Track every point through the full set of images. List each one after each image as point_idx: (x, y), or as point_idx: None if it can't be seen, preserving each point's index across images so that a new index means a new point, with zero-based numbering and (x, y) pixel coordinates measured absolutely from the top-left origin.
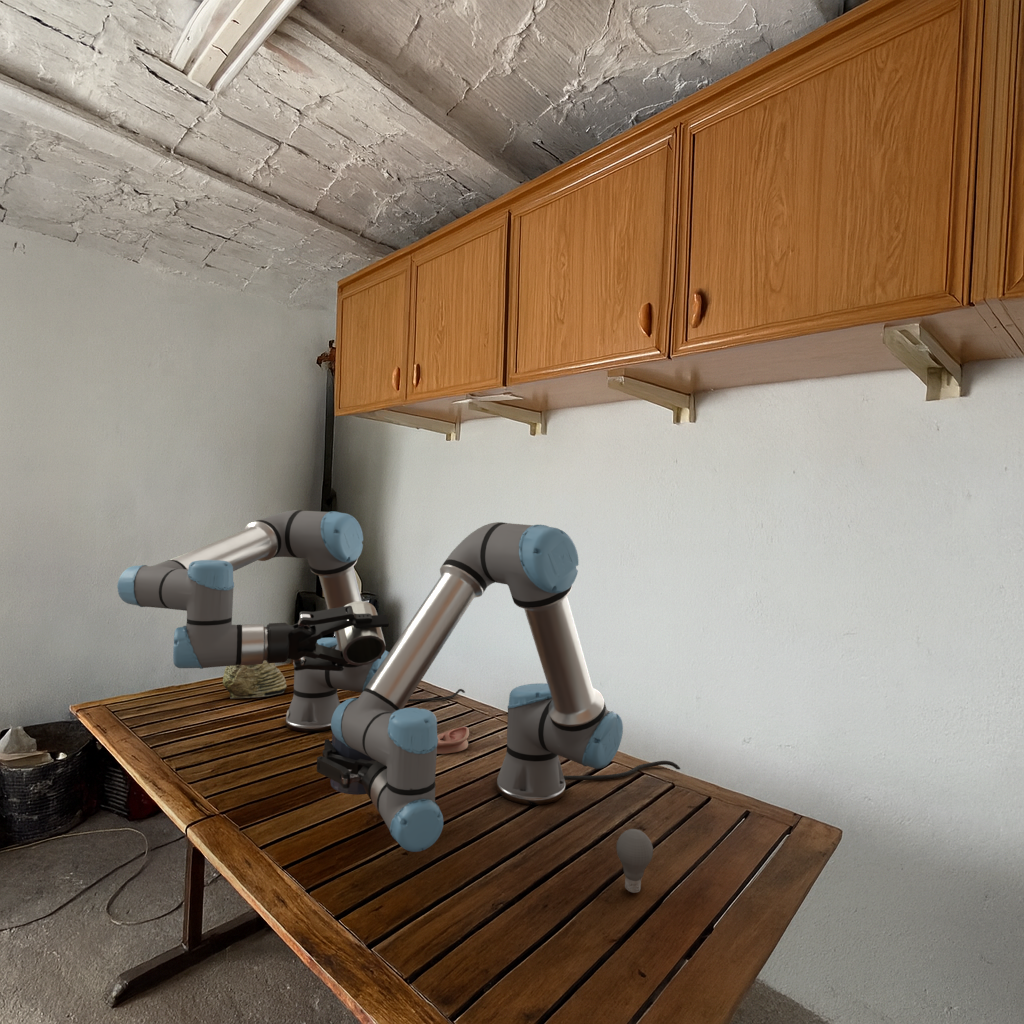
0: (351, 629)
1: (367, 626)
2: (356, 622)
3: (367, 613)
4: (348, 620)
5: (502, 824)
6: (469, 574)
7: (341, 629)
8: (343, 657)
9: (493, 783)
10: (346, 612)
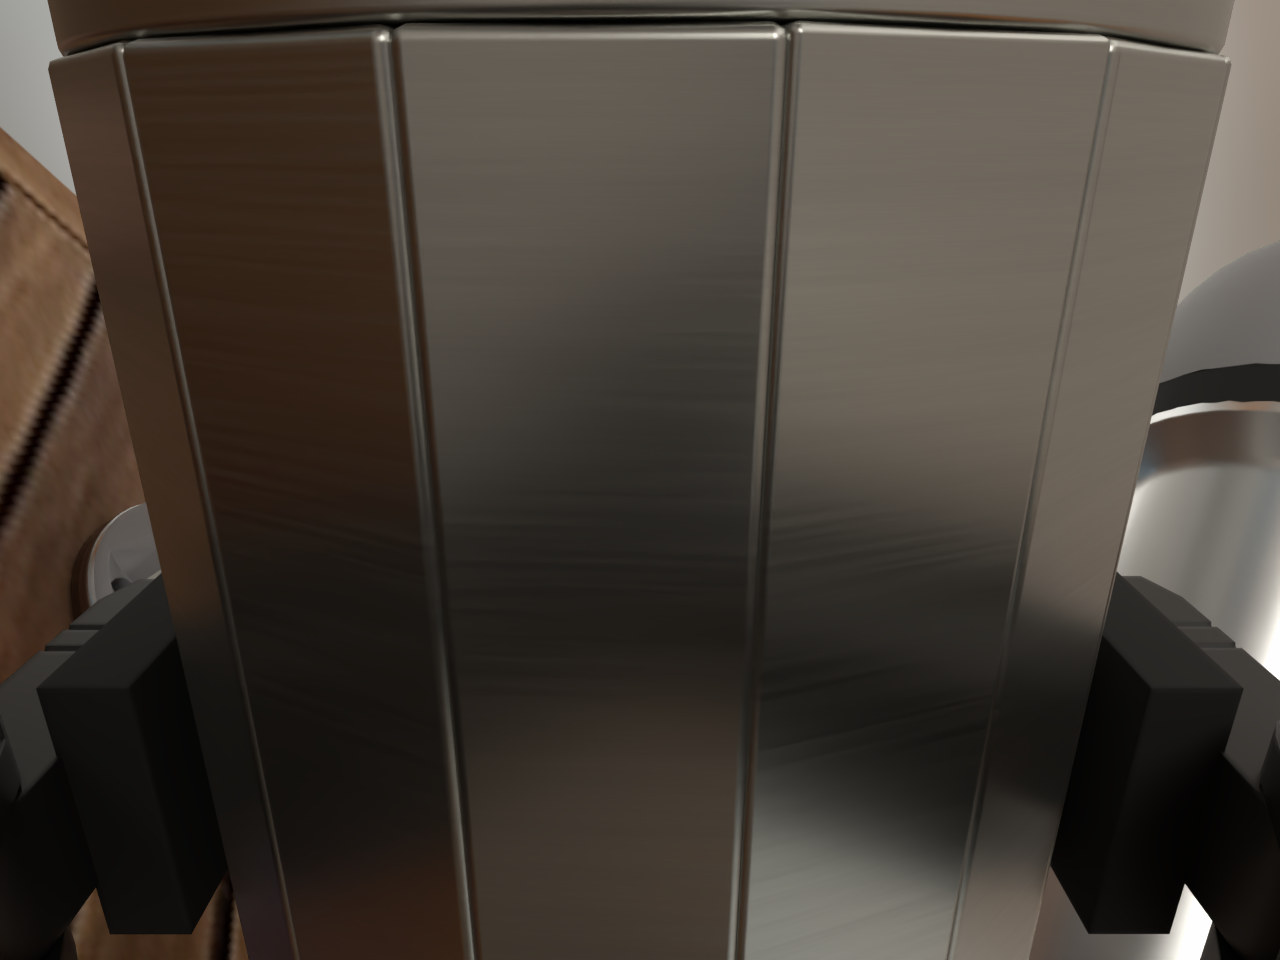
0: (1025, 930)
1: None
2: (1194, 864)
3: (1194, 608)
4: (1082, 669)
5: (229, 915)
6: (1173, 336)
7: (836, 849)
8: (2, 936)
9: (50, 614)
10: (1153, 333)
